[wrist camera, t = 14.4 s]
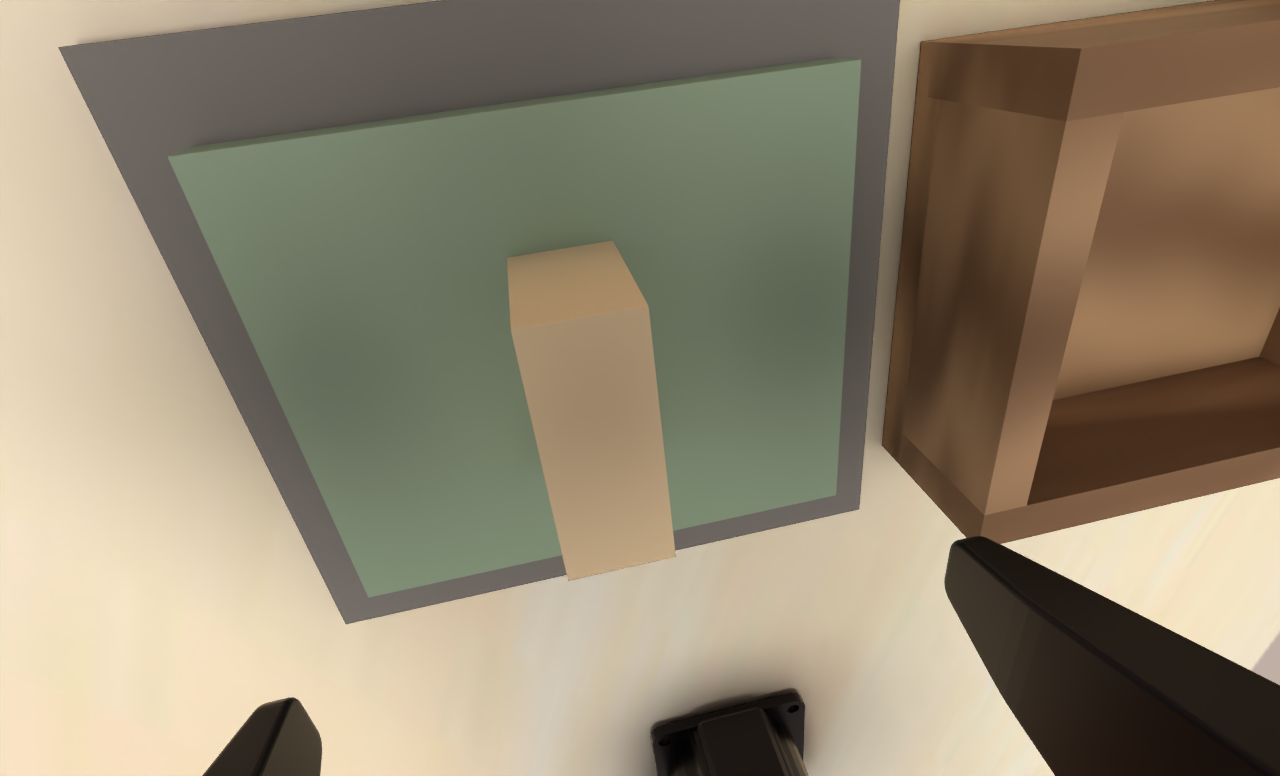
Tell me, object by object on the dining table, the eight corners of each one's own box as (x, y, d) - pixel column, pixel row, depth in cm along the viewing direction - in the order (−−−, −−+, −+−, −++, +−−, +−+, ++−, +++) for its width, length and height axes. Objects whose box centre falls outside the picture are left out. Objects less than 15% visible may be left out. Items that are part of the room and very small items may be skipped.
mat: (850, 498, 23) (859, 509, 22) (349, 609, 21) (345, 624, 20) (889, -54, 15) (904, -56, 14) (76, 46, 13) (57, 47, 12)
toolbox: (1262, 364, 23) (1482, 462, 18) (882, 445, 22) (1004, 579, 17) (1491, -176, 16) (1983, -274, 11) (936, -114, 14) (1193, -193, 9)
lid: (819, 472, 21) (907, 593, 17) (375, 567, 19) (339, 729, 15) (835, 57, 15) (981, 71, 10) (193, 146, 13) (41, 207, 9)
